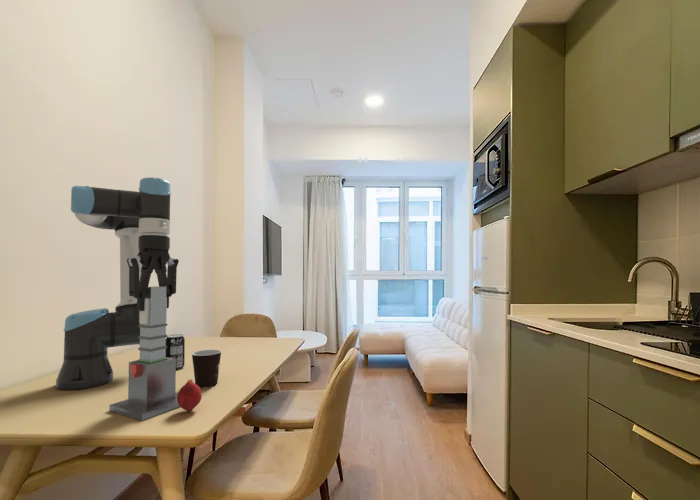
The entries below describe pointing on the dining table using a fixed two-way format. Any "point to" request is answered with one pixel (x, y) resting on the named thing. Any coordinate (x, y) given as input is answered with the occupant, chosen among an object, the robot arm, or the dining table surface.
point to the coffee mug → (206, 367)
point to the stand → (149, 390)
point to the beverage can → (176, 349)
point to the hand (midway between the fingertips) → (153, 322)
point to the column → (154, 327)
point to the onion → (189, 396)
